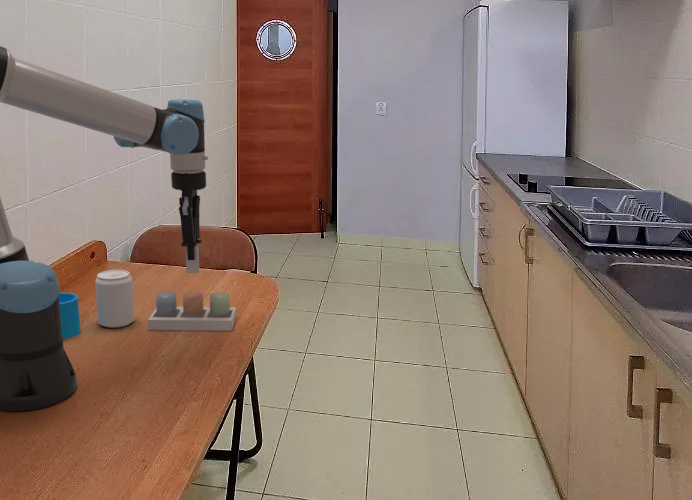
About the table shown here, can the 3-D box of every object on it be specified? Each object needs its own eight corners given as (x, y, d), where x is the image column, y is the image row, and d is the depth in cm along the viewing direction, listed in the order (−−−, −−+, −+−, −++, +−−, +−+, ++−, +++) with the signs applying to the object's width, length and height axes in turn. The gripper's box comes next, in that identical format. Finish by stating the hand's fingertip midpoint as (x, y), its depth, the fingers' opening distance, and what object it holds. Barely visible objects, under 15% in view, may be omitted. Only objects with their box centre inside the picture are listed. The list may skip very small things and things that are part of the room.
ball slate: (174, 313, 152) (174, 298, 151) (154, 313, 152) (153, 298, 151) (178, 307, 157) (178, 292, 156) (159, 306, 156) (158, 291, 155)
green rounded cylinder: (228, 314, 153) (228, 298, 152) (208, 314, 153) (208, 298, 152) (230, 307, 157) (230, 292, 156) (211, 307, 157) (211, 292, 156)
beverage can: (90, 324, 153) (87, 275, 150) (117, 314, 160) (114, 267, 157) (115, 331, 149) (112, 281, 146) (142, 320, 156) (139, 272, 153)
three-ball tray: (232, 330, 152) (231, 320, 151) (148, 330, 151) (148, 319, 150) (236, 317, 160) (236, 307, 160) (157, 316, 159) (157, 306, 159)
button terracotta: (201, 314, 152) (201, 298, 152) (181, 313, 152) (181, 298, 151) (204, 307, 157) (204, 292, 156) (185, 307, 157) (184, 292, 156)
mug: (72, 340, 144) (70, 304, 142) (35, 339, 144) (31, 304, 142) (91, 320, 156) (88, 287, 154) (56, 319, 155) (53, 287, 153)
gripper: (200, 175, 140) (204, 280, 146) (210, 166, 152) (213, 264, 159) (164, 174, 139) (170, 280, 146) (177, 166, 152) (181, 264, 158)
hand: (192, 272), depth 152 cm, fingers closed
